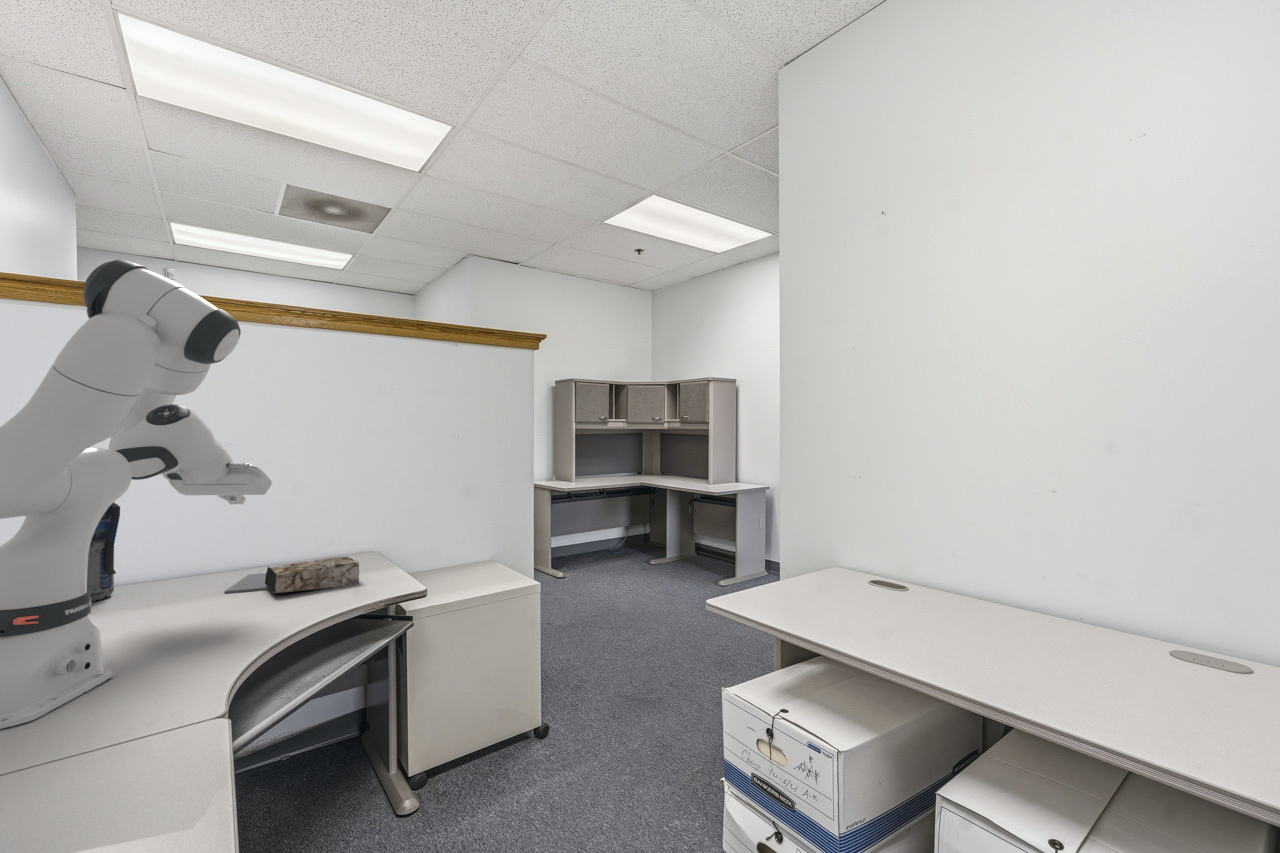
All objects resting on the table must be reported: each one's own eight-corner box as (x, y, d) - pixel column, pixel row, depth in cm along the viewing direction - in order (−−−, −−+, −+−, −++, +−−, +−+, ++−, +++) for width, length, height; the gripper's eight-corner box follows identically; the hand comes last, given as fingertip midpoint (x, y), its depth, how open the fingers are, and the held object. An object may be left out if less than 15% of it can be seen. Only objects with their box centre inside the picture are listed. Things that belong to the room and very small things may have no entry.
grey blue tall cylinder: (97, 605, 131) (98, 501, 131) (39, 606, 130) (40, 501, 131) (134, 593, 141) (135, 496, 142) (80, 594, 141) (81, 497, 141)
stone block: (274, 601, 136) (360, 587, 150) (275, 573, 136) (362, 562, 150) (264, 585, 146) (346, 573, 160) (265, 559, 145) (347, 550, 159)
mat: (304, 586, 146) (304, 584, 146) (224, 593, 140) (224, 591, 140) (319, 570, 163) (319, 568, 163) (248, 576, 157) (248, 574, 157)
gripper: (260, 453, 127) (287, 491, 136) (171, 454, 126) (204, 492, 136) (247, 474, 122) (275, 512, 132) (154, 475, 122) (189, 512, 131)
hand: (238, 502), depth 134 cm, fingers closed
